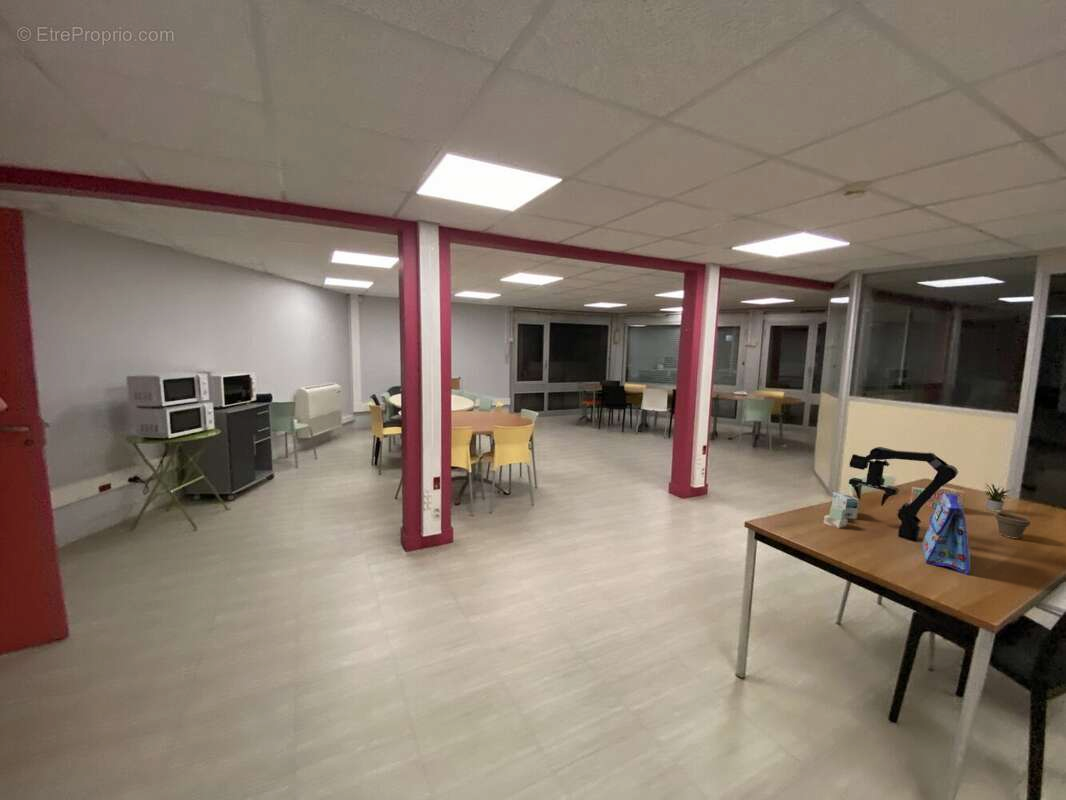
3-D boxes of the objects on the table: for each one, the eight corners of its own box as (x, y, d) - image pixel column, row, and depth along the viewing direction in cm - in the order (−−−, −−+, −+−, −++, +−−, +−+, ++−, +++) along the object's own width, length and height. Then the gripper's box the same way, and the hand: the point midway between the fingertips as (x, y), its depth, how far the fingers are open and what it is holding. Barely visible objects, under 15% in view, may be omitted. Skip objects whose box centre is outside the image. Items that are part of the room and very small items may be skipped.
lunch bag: (920, 546, 192) (931, 484, 188) (962, 556, 184) (975, 492, 180) (924, 563, 176) (936, 496, 172) (970, 576, 167) (984, 506, 163)
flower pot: (987, 529, 216) (991, 510, 215) (1019, 535, 210) (1024, 515, 209) (997, 537, 206) (1001, 517, 205) (1031, 544, 200) (1035, 523, 199)
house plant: (966, 505, 250) (972, 479, 248) (981, 504, 254) (986, 478, 252) (999, 515, 237) (1004, 487, 234) (1014, 513, 241) (1020, 486, 239)
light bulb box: (857, 519, 220) (860, 499, 219) (844, 518, 220) (847, 498, 219) (842, 511, 231) (845, 492, 230) (830, 510, 231) (832, 491, 230)
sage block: (843, 518, 211) (845, 508, 210) (840, 520, 207) (842, 511, 207) (832, 515, 214) (833, 505, 214) (828, 517, 211) (830, 507, 211)
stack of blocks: (911, 504, 249) (914, 484, 247) (909, 501, 254) (913, 481, 252) (961, 514, 236) (965, 492, 235) (959, 510, 241) (963, 490, 240)
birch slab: (846, 526, 210) (847, 519, 210) (838, 529, 207) (839, 521, 207) (831, 521, 217) (832, 513, 216) (823, 523, 213) (824, 515, 213)
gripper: (904, 475, 206) (899, 506, 208) (858, 465, 221) (853, 494, 223) (897, 478, 200) (892, 510, 202) (850, 468, 215) (846, 497, 217)
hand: (870, 502), depth 211 cm, fingers open, 9 cm apart
